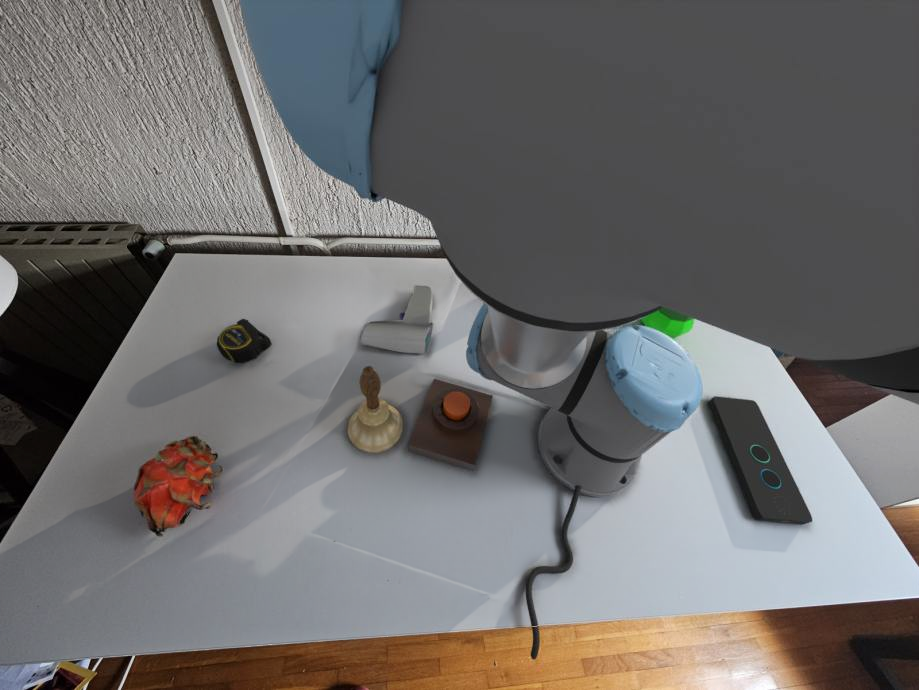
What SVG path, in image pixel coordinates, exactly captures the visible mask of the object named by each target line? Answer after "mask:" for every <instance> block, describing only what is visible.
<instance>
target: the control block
mask: <svg viewBox="0 0 919 690" xmlns="http://www.w3.org/2000/svg"><path fill="white" fill-rule="evenodd" d="M451 392H461V393H464V394H465V395H466V396H467V397H468V398H469V400H470V409H469V413H468V415H467V416H466V417H465V418H464V419H462V420H459V421H454V420H451V419H449V418H447V417H446V416H445V414H444V412H443V402H444V398H445V397H446V395H448V394H449V393H451ZM493 398H494V395H492V394H489V393H486V392H482V391H479V390H475V389H473V388H468V387H466V386H465V387H464V386H461V385H458V384H455V383H451V382H449V381H444V380H441V379H438V378H433V380H432V382H431V384H430V388H429V390H428V393H427V395H426V398H425V400H424V404H423V406H422V407H421V410H420V413H419V416H418V418H417V421H416V424H415V427H414V429H413V432H412V434H411V437H410V439H409V443H408V451H409V452H411V453H415V454H418V455H421V456H425V457H427V458H432V459H434V460H437V461H440V462H443V463H447V464H451V465H454V466H457V467H461V468H464V469H466V470H470V471H474V470H475V467H476V464H477V461H478V457H479V453H480V448H481V445H482V441H483V437H484V433H485V430H486V429H485V428H486V425H487V420H488V417H489V413H490V410H491V405H492V402H493Z"/></svg>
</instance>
